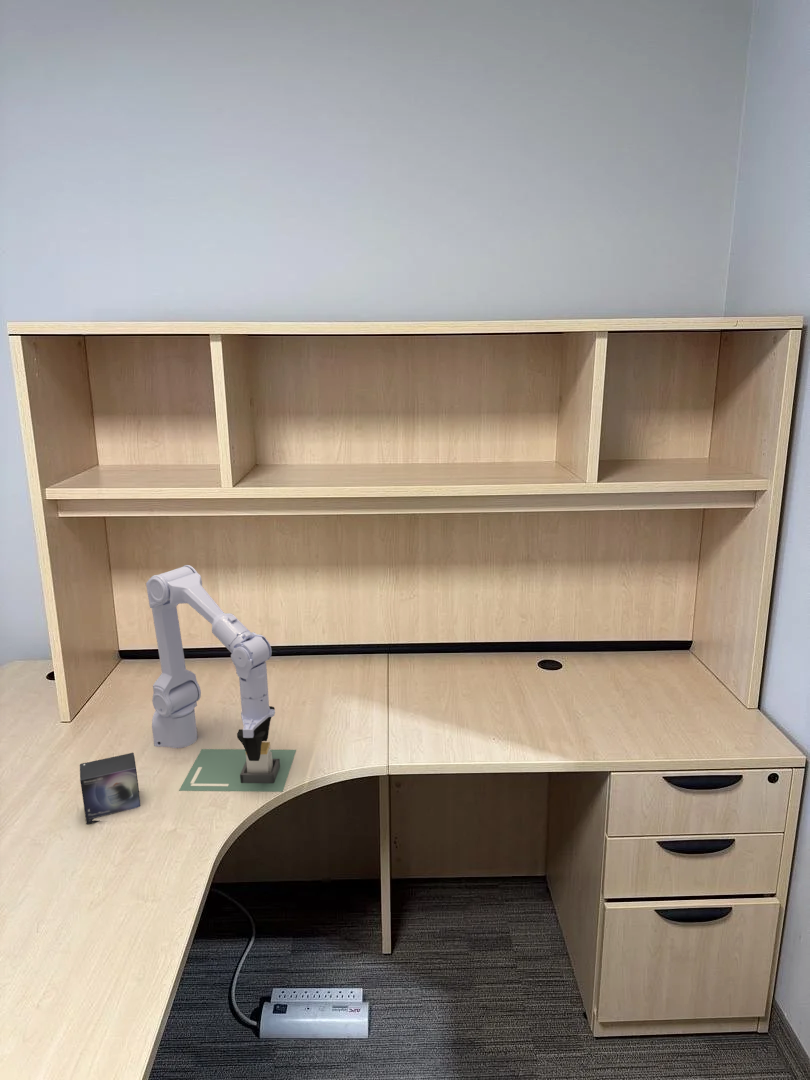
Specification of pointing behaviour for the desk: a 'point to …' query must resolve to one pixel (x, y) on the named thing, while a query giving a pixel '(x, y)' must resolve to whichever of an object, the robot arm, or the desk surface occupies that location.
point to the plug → (261, 761)
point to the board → (236, 772)
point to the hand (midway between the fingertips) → (258, 750)
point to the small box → (109, 786)
